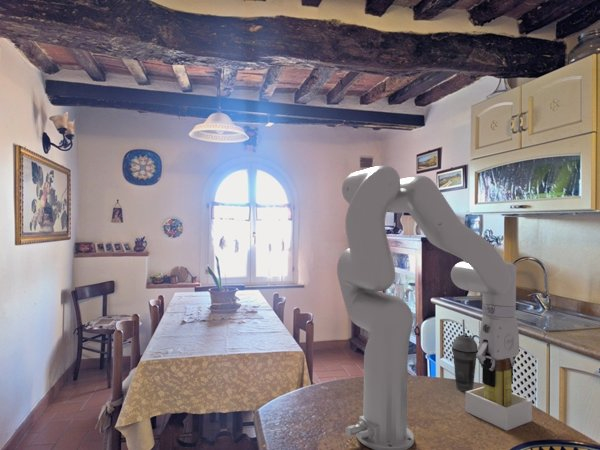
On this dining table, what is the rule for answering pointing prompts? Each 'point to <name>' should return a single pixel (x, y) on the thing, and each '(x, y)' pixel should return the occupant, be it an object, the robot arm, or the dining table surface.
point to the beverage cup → (464, 361)
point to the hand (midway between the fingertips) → (497, 382)
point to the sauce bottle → (500, 384)
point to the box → (499, 409)
